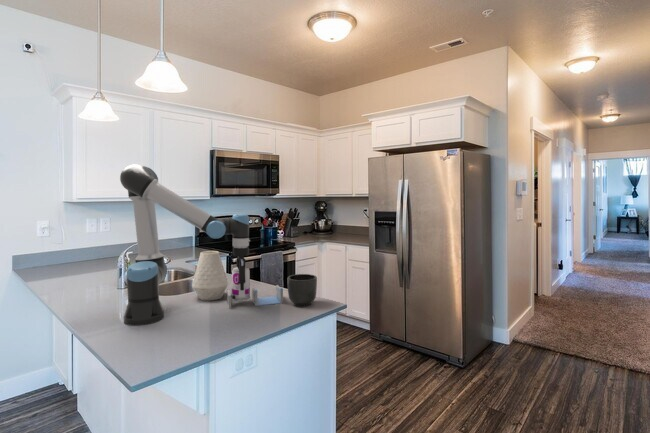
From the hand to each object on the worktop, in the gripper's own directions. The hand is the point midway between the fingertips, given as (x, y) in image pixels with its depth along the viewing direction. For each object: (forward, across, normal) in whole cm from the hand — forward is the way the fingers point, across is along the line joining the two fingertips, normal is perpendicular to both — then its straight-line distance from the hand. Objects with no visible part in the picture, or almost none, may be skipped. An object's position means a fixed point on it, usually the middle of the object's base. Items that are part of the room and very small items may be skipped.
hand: (240, 294), depth 176 cm
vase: (+5, +16, +13) cm, 21 cm away
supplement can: (+3, 0, 0) cm, 3 cm away
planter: (+4, -10, -28) cm, 30 cm away
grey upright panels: (+4, 0, -7) cm, 8 cm away
